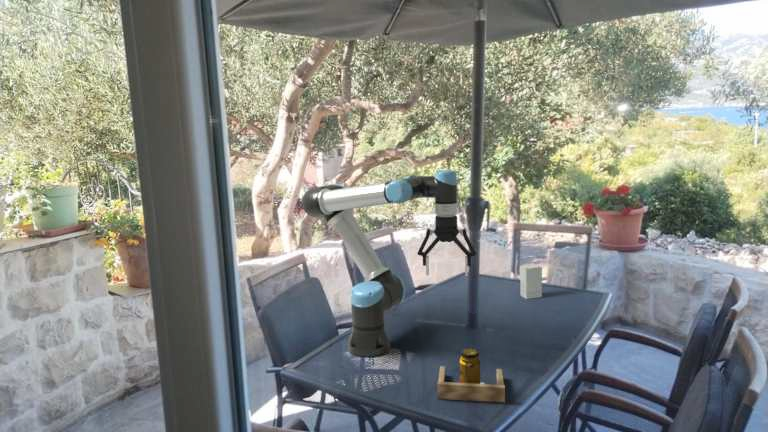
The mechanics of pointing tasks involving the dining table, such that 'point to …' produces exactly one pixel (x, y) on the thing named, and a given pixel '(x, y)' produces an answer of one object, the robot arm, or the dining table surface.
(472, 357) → the condiment
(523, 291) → the skincare box
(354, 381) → the dining table surface
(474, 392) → the bay
